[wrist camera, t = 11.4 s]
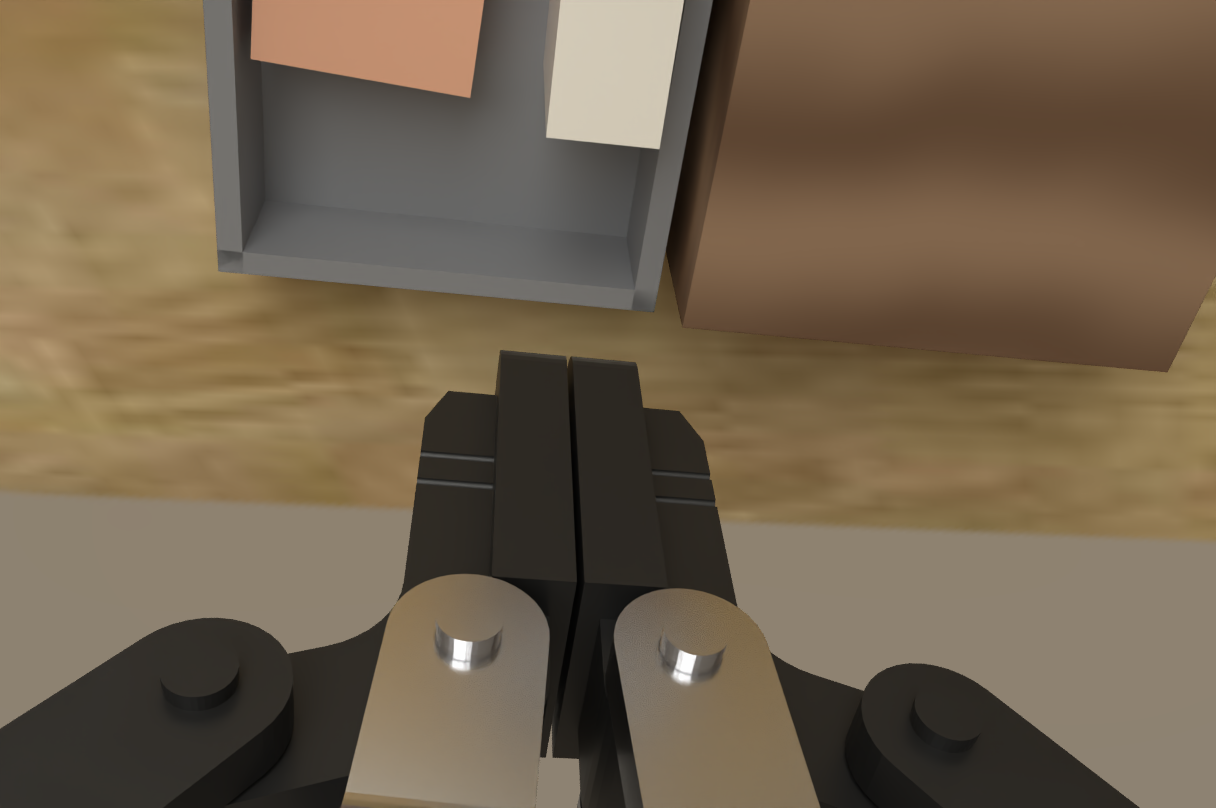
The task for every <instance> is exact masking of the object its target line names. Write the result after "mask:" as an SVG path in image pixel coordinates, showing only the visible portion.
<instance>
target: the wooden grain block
mask: <svg viewBox="0 0 1216 808" xmlns="http://www.w3.org/2000/svg"><path fill="white" fill-rule="evenodd" d="M666 253H667V258H668V263H669V267H670V272H671V276H672V281H673V286H674V290H675V295H676V300H677V304H678V309H679V313H680V318H681V323H682V327H684V328H695V329H706V330H716V331H727V332H738V333H749V334H760V335H770V336H781V337H792V338H803V339H814V340H825V341H835V342H846V343H857V344H868V345H879V346H889V347H900V348H911V349H922V350H933V351H943V352H954V353H965V354H976V355H987V356H998V357H1008V358H1019V359H1030V360H1041V361H1052V362H1062V363H1073V364H1084V365H1095V366H1106V367H1116V368H1127V369H1138V370H1149V371H1160V372H1168V370H1169V368H1170V366H1171V364H1172V362H1173V360H1174V358H1175V356H1176V354H1177V352H1178V350H1179V348H1180V346H1181V344H1182V342H1183V340H1184V338H1185V336H1186V334H1187V332H1188V330H1189V328H1190V326H1191V324H1192V322H1193V320H1194V318H1195V316H1196V314H1197V312H1198V310H1199V308H1200V306H1201V304H1202V302H1203V300H1204V298H1205V296H1206V294H1207V292H1208V290H1209V288H1210V286H1211V284H1212V282H1213V280H1214V278H1215V276H1216V0H713V2H712V8H711V13H710V18H709V23H708V29H707V34H706V39H705V45H704V50H703V55H702V60H701V66H700V71H699V76H698V82H697V87H696V92H695V97H694V103H693V108H692V113H691V119H690V124H689V129H688V134H687V140H686V145H685V150H684V156H683V161H682V166H681V172H680V177H679V182H678V187H677V193H676V198H675V203H674V209H673V214H672V219H671V224H670V230H669V235H668V240H667V246H666Z"/></svg>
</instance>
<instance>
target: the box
mask: <svg viewBox="0 0 1216 808" xmlns="http://www.w3.org/2000/svg"><path fill="white" fill-rule="evenodd" d="M712 2H713V0H684V4H683V10H682V16H681V22H680V28H679V34H678V40H677V46H676V52H675V58H674V64H673V70H672V76H671V82H670V88H669V94H668V100H667V106H666V112H665V118H664V125H663V131H662V137H661V143H660V149H653V148H643V147H633V146H624V145H614V144H604V143H595V142H585V141H575V140H565V139H556V138H546V122H545V95H544V68H543V60H544V50H545V40H546V30H547V20H548V10H549V0H484V5H483V12H482V19H481V26H480V33H479V40H478V47H477V54H476V61H475V68H474V75H473V82H472V89H471V96H470V98H467V97H462V96H456V95H451V94H445V93H439V92H434V91H428V90H422V89H417V88H411V87H405V86H400V85H394V84H389V83H383V82H377V81H372V80H366V79H360V78H355V77H349V76H343V75H338V74H332V73H327V72H321V71H315V70H310V69H304V68H298V67H293V66H287V65H281V64H276V63H270V62H265V61H259V60H253V59H251V31H252V0H203V9H204V26H205V44H206V61H207V79H208V96H209V113H210V131H211V148H212V166H213V183H214V201H215V218H216V236H217V253H218V270H219V271H220V272H231V273H241V274H252V275H262V276H273V277H284V278H294V279H305V280H316V281H326V282H337V283H348V284H358V285H369V286H380V287H390V288H401V289H412V290H422V291H433V292H443V293H454V294H465V295H475V296H486V297H497V298H507V299H518V300H529V301H539V302H550V303H561V304H571V305H582V306H593V307H603V308H614V309H625V310H635V311H646V312H654V309H655V304H656V299H657V293H658V288H659V283H660V277H661V272H662V267H663V261H664V256H665V251H666V246H667V240H668V235H669V230H670V224H671V219H672V214H673V209H674V203H675V198H676V193H677V187H678V182H679V177H680V172H681V166H682V161H683V156H684V150H685V145H686V140H687V134H688V129H689V124H690V119H691V113H692V108H693V103H694V97H695V92H696V87H697V82H698V76H699V71H700V66H701V60H702V55H703V50H704V45H705V39H706V34H707V29H708V23H709V18H710V13H711V8H712Z"/></svg>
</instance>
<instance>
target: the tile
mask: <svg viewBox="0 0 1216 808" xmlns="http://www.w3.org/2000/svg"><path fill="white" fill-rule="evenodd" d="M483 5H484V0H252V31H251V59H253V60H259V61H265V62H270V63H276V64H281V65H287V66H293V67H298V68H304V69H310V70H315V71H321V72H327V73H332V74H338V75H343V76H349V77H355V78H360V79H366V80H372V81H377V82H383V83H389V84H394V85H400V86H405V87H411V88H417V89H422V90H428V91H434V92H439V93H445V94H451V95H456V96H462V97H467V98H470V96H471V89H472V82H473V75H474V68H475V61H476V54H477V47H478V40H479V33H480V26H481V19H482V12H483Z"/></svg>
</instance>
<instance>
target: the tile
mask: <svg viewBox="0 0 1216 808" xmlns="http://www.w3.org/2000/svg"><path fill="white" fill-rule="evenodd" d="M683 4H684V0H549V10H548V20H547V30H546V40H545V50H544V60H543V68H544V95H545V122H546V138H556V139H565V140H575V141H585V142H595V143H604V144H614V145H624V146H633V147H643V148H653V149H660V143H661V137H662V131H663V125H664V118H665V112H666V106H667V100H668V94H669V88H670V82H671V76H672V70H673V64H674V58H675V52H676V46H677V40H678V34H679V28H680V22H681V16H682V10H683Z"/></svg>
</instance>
